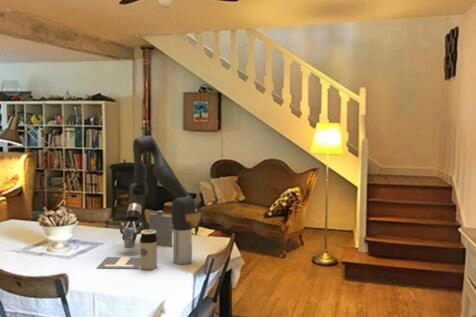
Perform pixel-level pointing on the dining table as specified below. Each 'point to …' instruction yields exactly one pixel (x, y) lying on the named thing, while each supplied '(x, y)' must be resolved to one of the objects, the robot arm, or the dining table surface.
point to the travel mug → (148, 250)
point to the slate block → (129, 237)
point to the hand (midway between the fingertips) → (128, 240)
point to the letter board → (120, 263)
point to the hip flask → (161, 227)
